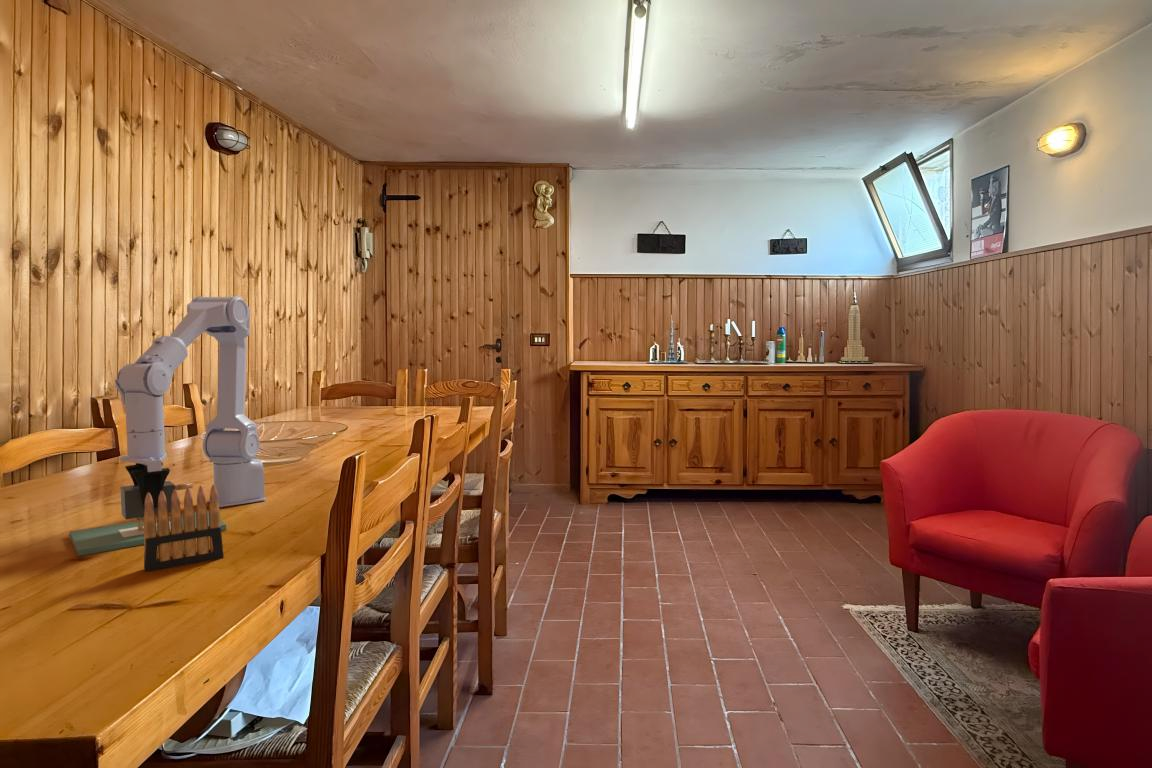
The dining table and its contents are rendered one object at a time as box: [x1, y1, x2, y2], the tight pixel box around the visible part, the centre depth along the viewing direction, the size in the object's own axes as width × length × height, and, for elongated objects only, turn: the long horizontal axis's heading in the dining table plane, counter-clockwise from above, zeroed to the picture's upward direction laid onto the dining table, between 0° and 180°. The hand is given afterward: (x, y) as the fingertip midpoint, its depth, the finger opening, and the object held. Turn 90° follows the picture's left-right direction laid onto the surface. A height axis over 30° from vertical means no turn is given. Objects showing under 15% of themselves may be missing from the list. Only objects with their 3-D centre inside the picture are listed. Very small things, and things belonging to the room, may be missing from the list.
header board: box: [69, 509, 227, 557], centre depth 121 cm, size 22×14×4 cm, turn 132°
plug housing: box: [120, 480, 194, 520], centre depth 121 cm, size 11×4×5 cm, turn 132°
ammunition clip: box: [143, 484, 225, 573], centre depth 105 cm, size 11×2×12 cm, turn 127°
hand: (149, 505), depth 120 cm, fingers closed on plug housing, 4 cm apart
